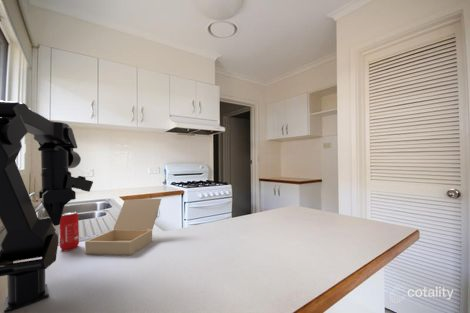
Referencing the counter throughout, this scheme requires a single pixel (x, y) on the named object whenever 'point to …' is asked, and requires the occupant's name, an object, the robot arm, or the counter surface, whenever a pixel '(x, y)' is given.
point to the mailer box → (118, 242)
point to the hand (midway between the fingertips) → (56, 225)
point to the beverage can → (69, 231)
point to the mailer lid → (137, 214)
